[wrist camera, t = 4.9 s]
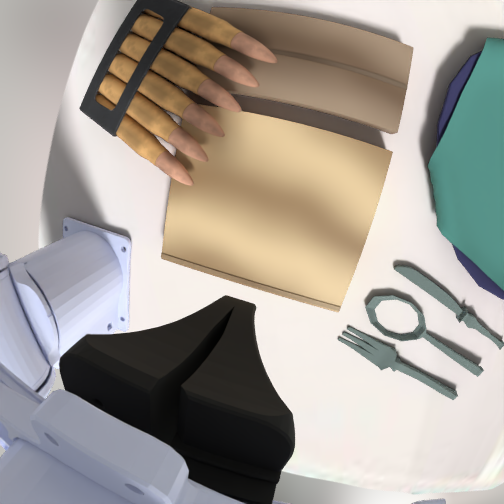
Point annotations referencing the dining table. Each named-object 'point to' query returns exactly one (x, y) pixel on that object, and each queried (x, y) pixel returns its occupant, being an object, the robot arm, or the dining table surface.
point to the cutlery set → (459, 207)
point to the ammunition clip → (174, 69)
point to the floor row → (321, 66)
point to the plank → (275, 206)
